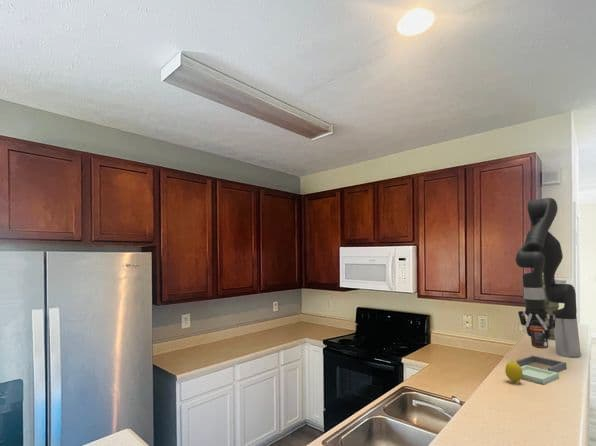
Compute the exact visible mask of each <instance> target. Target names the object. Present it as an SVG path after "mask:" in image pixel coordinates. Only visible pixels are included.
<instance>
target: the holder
mask: <svg viewBox="0 0 596 446" xmlns="http://www.w3.org/2000/svg"><path fill="white" fill-rule="evenodd" d="M516 363H517V364H519V365H520V367H522V366H525V365H527V366H528V365H529V364H533V363H536V364H537V363H538V364H540V365H545V366H549V367H547V370H548V371H552V372H557V373H560V372H562V371H564V370H567V362H565V361H559V360H556V359H551V358H545V357H541V356H538V355H537V356H536V355H529V356H526V357H523V358H521V359H518V360H516Z"/></svg>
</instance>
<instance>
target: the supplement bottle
mask: <svg viewBox="0 0 596 446" xmlns="http://www.w3.org/2000/svg"><path fill="white" fill-rule="evenodd" d="M544 330H545V329H544V327H543V325H541V323H540V322H539V321H535V320H532V324H531V325H530V335H531V336H530V342H531V346H532V347H533V348H537V349H548V348H549V341H548V339H545V332H544Z"/></svg>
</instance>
